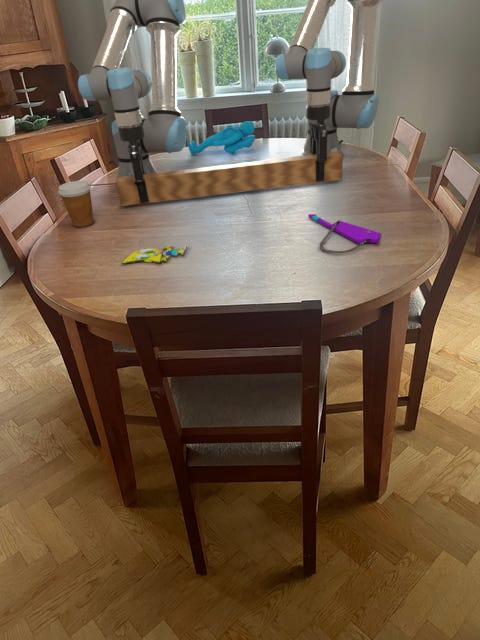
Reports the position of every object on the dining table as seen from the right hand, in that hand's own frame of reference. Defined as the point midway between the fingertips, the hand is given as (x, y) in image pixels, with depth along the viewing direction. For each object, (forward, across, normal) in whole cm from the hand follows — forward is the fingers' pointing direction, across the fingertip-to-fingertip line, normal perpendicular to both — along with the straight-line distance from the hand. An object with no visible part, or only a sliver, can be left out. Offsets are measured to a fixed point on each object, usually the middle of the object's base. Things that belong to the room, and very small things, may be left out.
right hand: (317, 178), depth 163 cm
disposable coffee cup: (+1, -10, +78) cm, 79 cm away
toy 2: (+3, +58, +27) cm, 64 cm away
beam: (0, 0, +30) cm, 30 cm away
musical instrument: (+1, -44, +8) cm, 45 cm away
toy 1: (+1, -42, +55) cm, 69 cm away
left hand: (-1, 0, +59) cm, 59 cm away
